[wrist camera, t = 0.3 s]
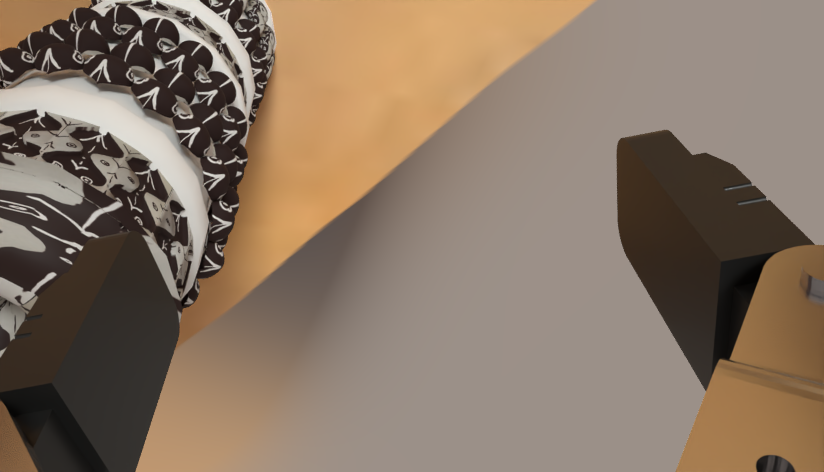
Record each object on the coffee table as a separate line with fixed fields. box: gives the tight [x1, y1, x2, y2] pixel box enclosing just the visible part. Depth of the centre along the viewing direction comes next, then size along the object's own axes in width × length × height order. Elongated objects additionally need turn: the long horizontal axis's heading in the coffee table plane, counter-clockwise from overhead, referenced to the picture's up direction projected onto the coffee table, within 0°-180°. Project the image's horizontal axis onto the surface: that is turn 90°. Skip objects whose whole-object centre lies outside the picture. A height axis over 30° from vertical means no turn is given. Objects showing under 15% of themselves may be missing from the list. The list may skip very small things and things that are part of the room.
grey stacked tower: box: [0, 0, 277, 357], centre depth 26 cm, size 9×9×25 cm
